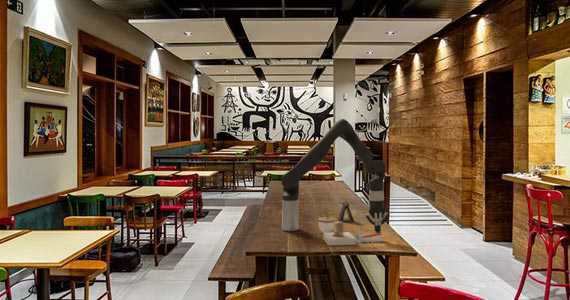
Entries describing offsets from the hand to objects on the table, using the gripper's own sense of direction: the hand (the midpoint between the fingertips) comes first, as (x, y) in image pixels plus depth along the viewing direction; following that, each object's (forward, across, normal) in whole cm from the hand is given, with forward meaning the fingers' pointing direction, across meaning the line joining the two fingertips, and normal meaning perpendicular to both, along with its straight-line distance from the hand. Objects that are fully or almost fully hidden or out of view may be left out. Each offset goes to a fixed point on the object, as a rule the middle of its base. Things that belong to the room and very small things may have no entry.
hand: (377, 232), depth 225 cm
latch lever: (+2, +4, 0) cm, 5 cm away
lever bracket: (+4, +5, 0) cm, 6 cm away
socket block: (+4, +20, 0) cm, 21 cm away
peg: (+4, +20, 0) cm, 21 cm away
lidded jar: (+4, +22, -20) cm, 30 cm away
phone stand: (+4, +6, -50) cm, 50 cm away
